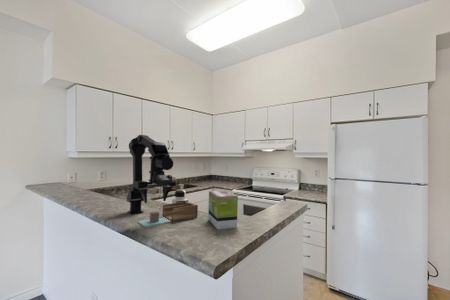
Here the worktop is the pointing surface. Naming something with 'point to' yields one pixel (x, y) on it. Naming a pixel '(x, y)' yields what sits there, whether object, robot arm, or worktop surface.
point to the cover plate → (148, 224)
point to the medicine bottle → (179, 196)
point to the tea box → (223, 209)
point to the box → (180, 211)
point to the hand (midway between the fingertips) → (155, 202)
